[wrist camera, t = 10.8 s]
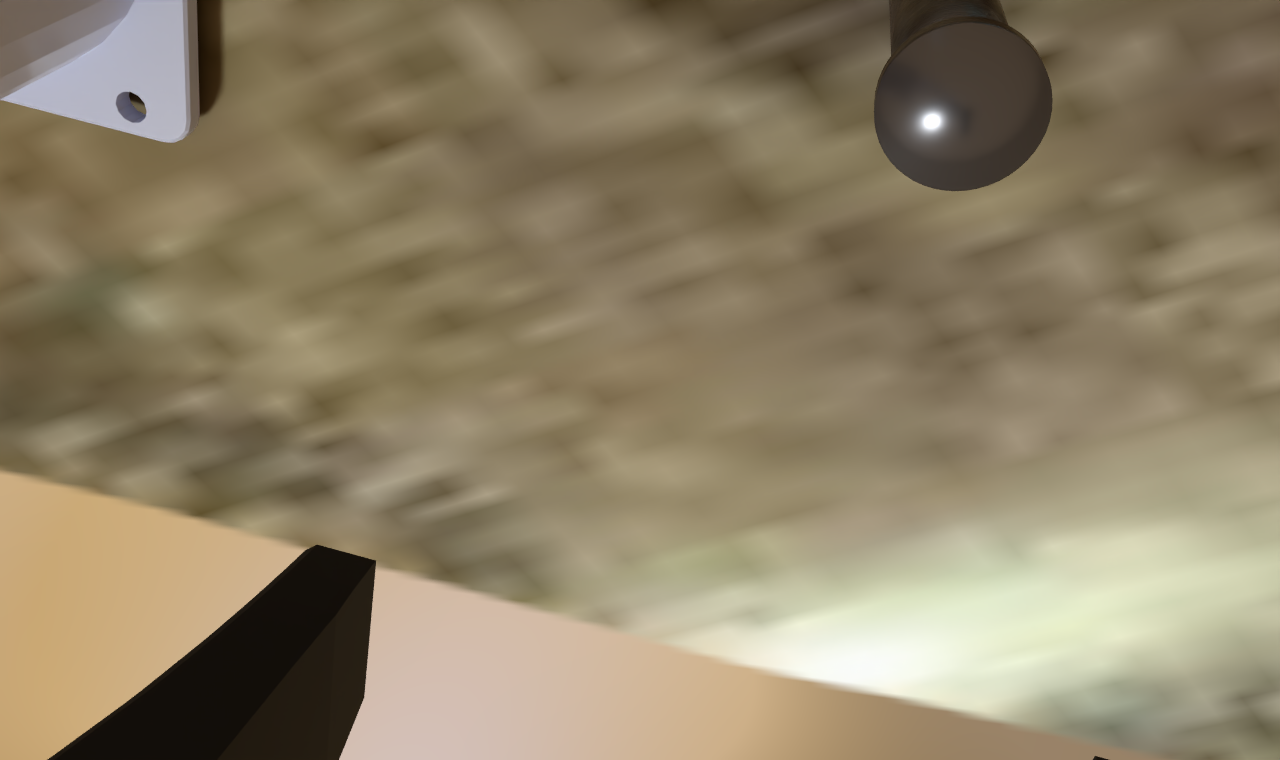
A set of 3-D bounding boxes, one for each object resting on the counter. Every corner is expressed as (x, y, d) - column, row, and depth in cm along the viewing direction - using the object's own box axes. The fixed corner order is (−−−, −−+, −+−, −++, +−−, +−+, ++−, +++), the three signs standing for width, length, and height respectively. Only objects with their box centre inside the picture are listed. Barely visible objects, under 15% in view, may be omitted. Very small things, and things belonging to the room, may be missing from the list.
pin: (858, 36, 17) (852, 168, 13) (897, -92, 16) (905, 4, 12) (978, 66, 17) (1013, 208, 12) (1025, -60, 16) (1081, 48, 11)
